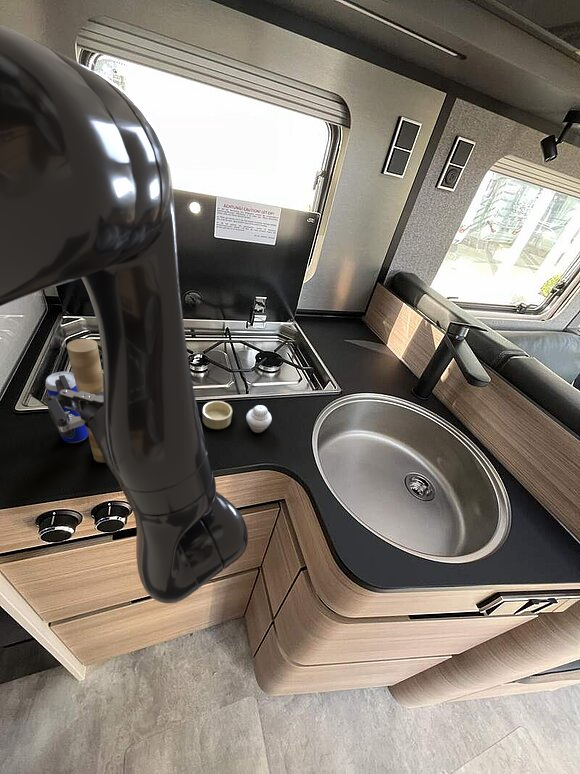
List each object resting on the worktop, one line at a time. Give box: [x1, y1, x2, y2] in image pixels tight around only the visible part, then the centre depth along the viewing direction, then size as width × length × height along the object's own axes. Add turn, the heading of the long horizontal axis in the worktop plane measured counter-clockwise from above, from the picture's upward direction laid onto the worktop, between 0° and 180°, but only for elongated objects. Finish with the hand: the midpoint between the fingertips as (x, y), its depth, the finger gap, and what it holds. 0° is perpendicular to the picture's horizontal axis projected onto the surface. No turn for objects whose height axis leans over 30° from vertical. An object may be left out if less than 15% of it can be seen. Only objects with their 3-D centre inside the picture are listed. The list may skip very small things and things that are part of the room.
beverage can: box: [45, 371, 88, 444], centre depth 66 cm, size 5×5×15 cm
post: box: [66, 338, 105, 464], centre depth 61 cm, size 4×4×26 cm
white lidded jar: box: [245, 404, 273, 434], centre depth 80 cm, size 6×6×7 cm
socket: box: [201, 400, 233, 430], centre depth 81 cm, size 7×7×3 cm
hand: (94, 373), depth 51 cm, fingers open, 8 cm apart
